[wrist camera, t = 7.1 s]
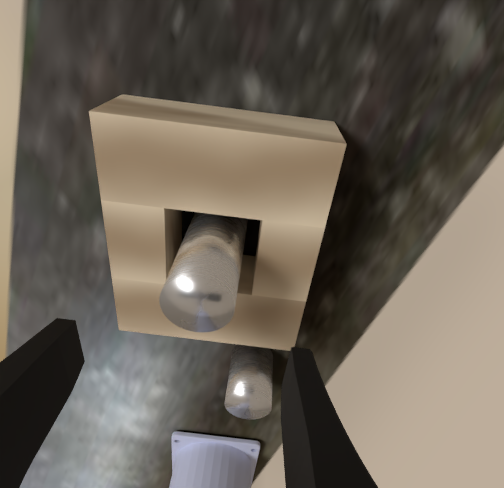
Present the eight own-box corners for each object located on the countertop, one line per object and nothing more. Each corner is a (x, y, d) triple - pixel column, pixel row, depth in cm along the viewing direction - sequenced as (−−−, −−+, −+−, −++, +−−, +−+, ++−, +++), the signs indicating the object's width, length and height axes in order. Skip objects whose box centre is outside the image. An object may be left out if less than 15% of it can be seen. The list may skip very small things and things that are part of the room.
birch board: (291, 308, 23) (293, 351, 20) (139, 289, 23) (119, 329, 20) (334, 121, 17) (346, 143, 14) (122, 94, 16) (88, 111, 14)
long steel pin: (243, 246, 21) (229, 337, 15) (192, 237, 21) (158, 326, 15) (251, 200, 19) (239, 283, 13) (196, 191, 19) (159, 270, 13)
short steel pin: (268, 371, 27) (266, 422, 23) (229, 364, 27) (221, 414, 23) (277, 345, 25) (276, 396, 22) (235, 337, 25) (228, 387, 22)
